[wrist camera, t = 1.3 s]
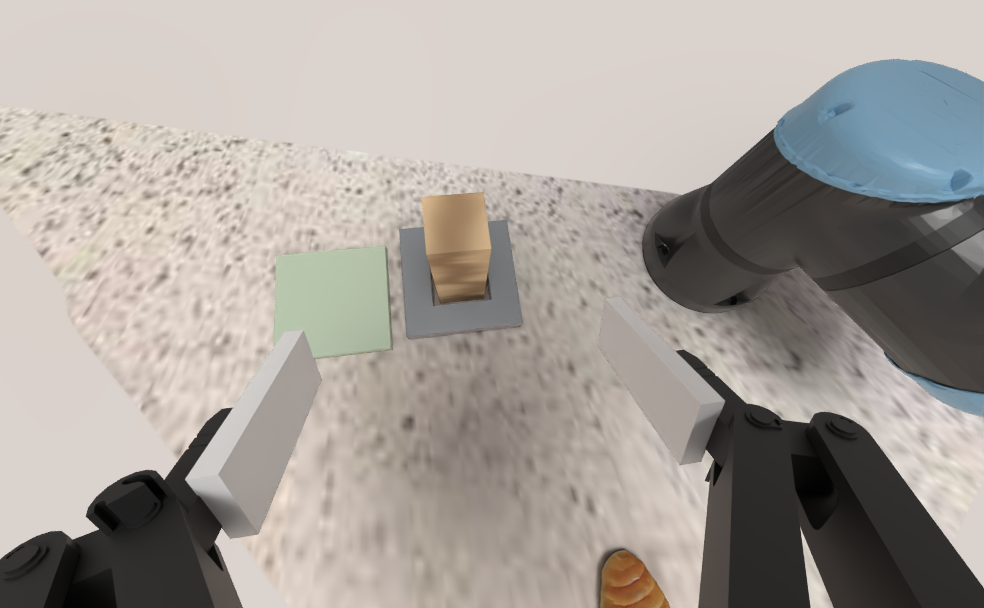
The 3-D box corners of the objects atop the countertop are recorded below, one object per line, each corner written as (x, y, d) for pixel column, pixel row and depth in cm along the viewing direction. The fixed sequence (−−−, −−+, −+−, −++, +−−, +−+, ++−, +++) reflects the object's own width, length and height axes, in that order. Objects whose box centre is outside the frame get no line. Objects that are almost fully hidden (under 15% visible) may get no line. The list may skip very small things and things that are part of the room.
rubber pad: (386, 249, 41) (384, 245, 40) (392, 349, 38) (390, 348, 37) (280, 259, 40) (276, 255, 39) (278, 363, 37) (273, 362, 36)
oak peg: (478, 259, 42) (483, 192, 28) (483, 299, 40) (491, 248, 27) (436, 263, 41) (421, 197, 28) (440, 303, 40) (426, 254, 27)
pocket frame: (505, 228, 43) (506, 220, 41) (520, 326, 40) (522, 322, 38) (402, 237, 42) (399, 229, 40) (409, 339, 39) (406, 336, 37)
